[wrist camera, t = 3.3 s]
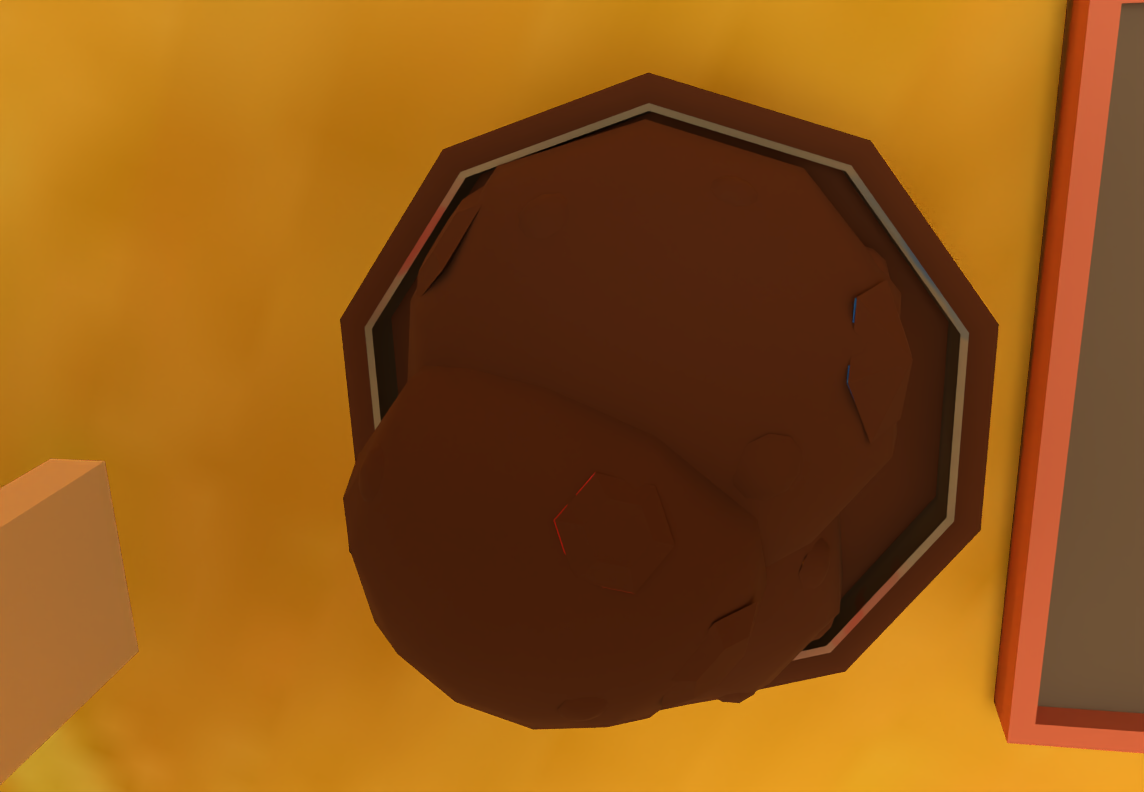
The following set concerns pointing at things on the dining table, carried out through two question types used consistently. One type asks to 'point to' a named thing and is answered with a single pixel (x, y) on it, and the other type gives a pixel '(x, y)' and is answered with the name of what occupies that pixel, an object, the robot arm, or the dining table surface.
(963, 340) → the ice cream bowl
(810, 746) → the dining table surface
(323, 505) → the dining table surface
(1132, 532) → the serving tray
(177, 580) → the dining table surface
